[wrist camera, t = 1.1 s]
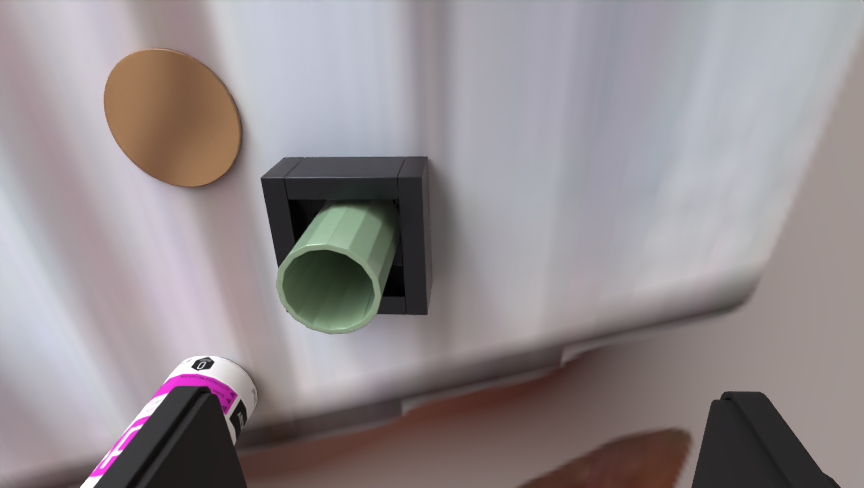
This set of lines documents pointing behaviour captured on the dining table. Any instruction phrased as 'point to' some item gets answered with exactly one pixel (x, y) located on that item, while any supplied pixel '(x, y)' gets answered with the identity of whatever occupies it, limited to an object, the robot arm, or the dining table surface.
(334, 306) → the cup
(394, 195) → the black square frame
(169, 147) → the coaster
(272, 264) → the dining table surface
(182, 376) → the supplement can
